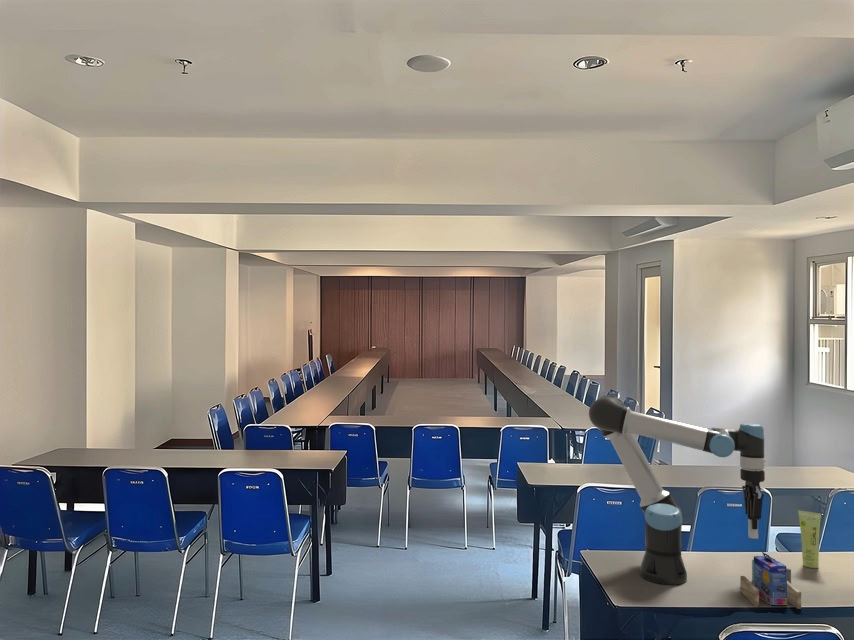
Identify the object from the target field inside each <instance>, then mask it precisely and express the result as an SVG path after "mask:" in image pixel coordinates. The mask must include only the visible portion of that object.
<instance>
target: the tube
mask: <svg viewBox="0 0 854 640" xmlns="http://www.w3.org/2000/svg"><path fill="white" fill-rule="evenodd" d="M797 515H798V519H799V520H798V521H799V528H800V539H801V553H802V555H801V557H802V558H801V559H802V566H804V567H805V568H810V569H818V568H819V567H820V565H819V561H820V559H819V557H820V556H819V554H820V553H819V551H820V547H819V546H820V531H821V530H820V529H821V520H822V513H818V512H812V511H806V510H805V511H804V510H799V509H798V510H797Z"/></svg>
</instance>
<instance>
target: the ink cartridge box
mask: <svg viewBox="0 0 854 640" xmlns="http://www.w3.org/2000/svg"><path fill="white" fill-rule="evenodd" d="M761 553H762V555H754V556H753V559H754V581H753V585H754V586H755V587H756V588H758V589H759V599H761V600H762V601H764V602H765V603H767V604H768V603H769V604H770V605H769V604H768V605H769V606H771V605H789V604H788V603H789V601H788V597H787V565H786V564H784V563H782V562H780V561H778V560H776V559H775V558H774V557H771V556H770V555H769V554H767V553H765V552H764V551H761Z"/></svg>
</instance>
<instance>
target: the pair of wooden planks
mask: <svg viewBox="0 0 854 640" xmlns="http://www.w3.org/2000/svg"><path fill="white" fill-rule="evenodd" d="M739 581H740V588H739V589H740V590H739V591H740V593H741V594H742V595H743V596H744V597H745V598H746V599H747V600H748V601H749V602H750V603H751V604H752V605H753V604H754V605H755V606H754V605H753V606H754V607H758V606H759V607H760V597H759V589H758V588H756V587H755V586H754V583H753V582H751V581H750V580H749V579H748V578H747V577H746V576H745V575H740V580H739ZM787 597H788V602H789V601H790V602H791V603H792V604H791V603H790V602H789V603H790V604H791V605H792V606H794V605H795V606H794V607H795V608H796V609H797V610H798V609H799V610H801V609H802V591H801V590H799V589H798V588H797V587H795V585H793V583H792V582H791V583H790V582H788V581H787Z"/></svg>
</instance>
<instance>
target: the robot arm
mask: <svg viewBox="0 0 854 640" xmlns="http://www.w3.org/2000/svg"><path fill="white" fill-rule="evenodd" d="M588 410H589V411H588V416H589V420H590V423H591V424H592V425H593V426H594V427H595V428H597V429H599V431H600V433H601V434H602V436H603V438H605V439H608V440H610V442H611V444H612V447H613V449H614V450H615V451H616V454H617V456H618V458H619V460H620V461H621V463H622V466H623V467H624V469H625V472H626V473H627V475H628V477H629V478H630V479H629V480H631V482H632V484H633V486H634V488H635V490H636V492H637V494H638V496H639V497H640V502H639V507H640V509H641V511H642V512H643V515H644V521H645V523H644V524H645V531H644V533H645V536H644V537H645V538H644V539H645V540H644V541H645V543H644V545H645V547H644V550H645V551H644V554H643V558H642V560H641V563H640V566H639V575H640V576H641V578H643V579H644V580H647V581H650V582H652V583H656V584H660V585H671V586H672V585H673V586H674V585H681V584H684V583H686V582H687V581H688V574H687V570H686V566H685V564H684V559H683V557H682V527H683V522H684V521H683V520H684V517H683V512H682V510H681V509H682V508H681V507H680V506H679V505H678V504H677V503H676V502H675V499H674V498H673V496H672V495H671V492H670V491H668V490H666V489H665V490H664V488H663V487H662V485H661V484H660V482H659V481H660V480H659V479H658V478H657V476H656V474H655V472H654V470H653V468H652V465H651V464H650V462H649V460H648V459H647V456H646V455H645V453H644V452H643V450H642V448H641V446H640V444H639V442H638V440H637V438H636V436H635V435H637V436H641V437H642V436H643V437H646V438H649V439H654V440H659V441H662V442H666V443H670V444H674V445H677V446H678V445H679V446H682V447H686V448H690V449H694V450H698V451H702V452H705V453H709V454H713V455H714V456H716V457H719V458H727V457H730V456H731V455H732V454H733V452H734V451H735V452H738V451H739V452H740V453H739V454H740V455H739V467H740V468H741V469H740V476H739V477H740V479H741V481H744V484H743V485H742V486H741V489H742V491H743V502H744V513H745V515H746V516H747V524H748V525H747V526H748V527H747V529H748V531H747V532H748V538H749V539H754V540H755V539H757V540H758V539H759V520H761V519H762V509H763V500H764V496H765V495H764V492H762V490H761V489H762V487H761V485H760V483H762V482H765V480H766V479H765V478H766V477H765V476H766V474H765V470H764V469H765V463H766V462H767V461H766V459H765V434H764V433H765V432H764V429H765V428H764V426H762V424H758V423H746V422H745V423H741V424H739V428H735V429H733V428H719V427H705V428H703V427H699V426H695V425H691V424H687V423H682V422H678V421H674V420H671V419H666V418H661V417H658V416H654V415H649V414H646V413H641V412H636V411H634V410H632V409H631V408H630V407H629V406H626V405H625V404H624V402H623V400H621V399H620V398H618V397H616V396H615V395H614V396H613V395H609V394H608V395H603V396H600V397H599V398H597V399H596V400H594V401H593V402H592V403H591V405H590V407H589V408H588Z"/></svg>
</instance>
